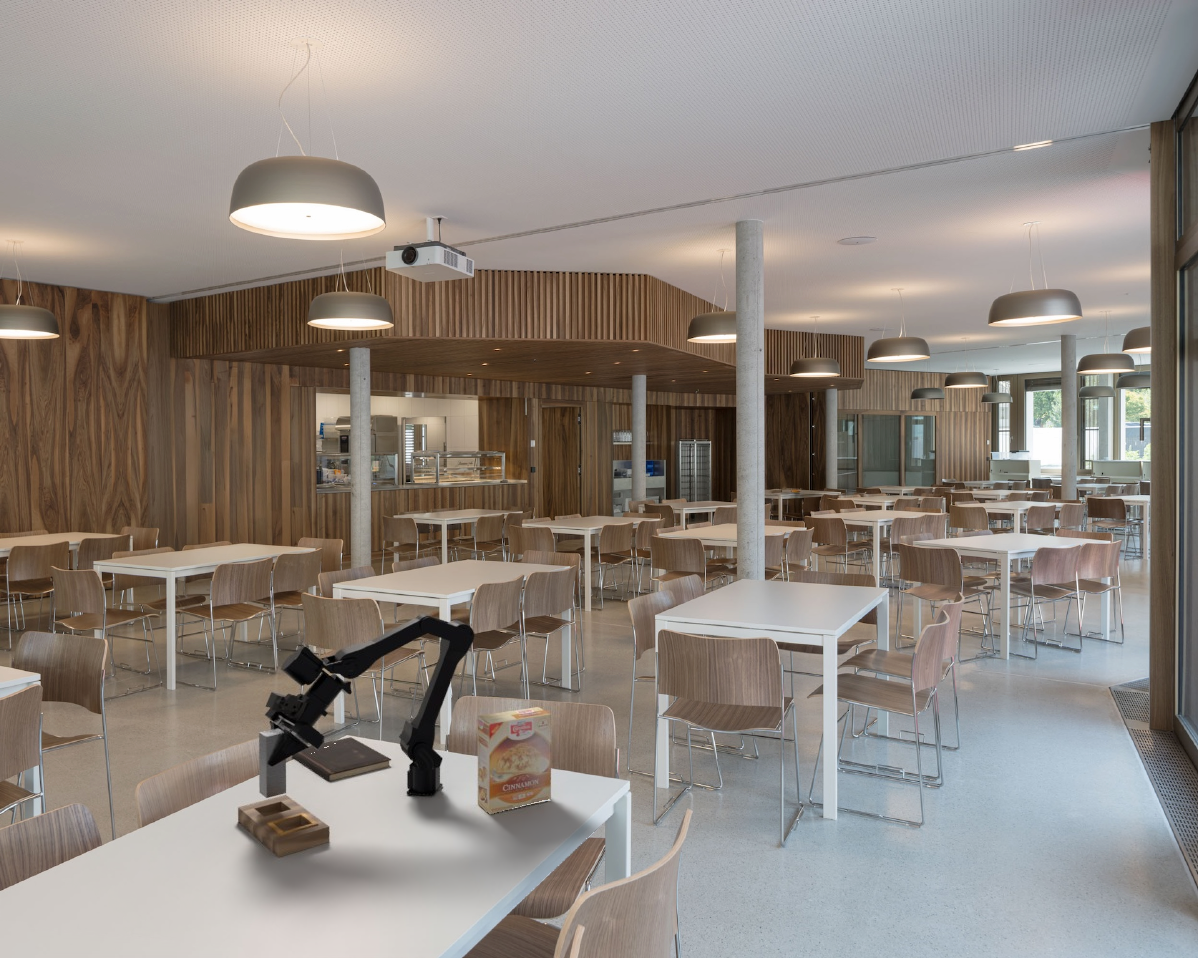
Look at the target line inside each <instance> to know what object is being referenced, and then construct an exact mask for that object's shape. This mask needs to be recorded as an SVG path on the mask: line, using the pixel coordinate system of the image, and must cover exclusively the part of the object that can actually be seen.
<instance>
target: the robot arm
mask: <svg viewBox="0 0 1198 958" xmlns="http://www.w3.org/2000/svg"><path fill="white" fill-rule="evenodd" d="M426 634H427V635H428V634H429V635H431V636H435V637H437V638H440V640H439V641H440V642H439V655H438V659H437V662H436V665H435V667H434V670H433V672H432V675H431V678H430V680H429V683H428V685H427V688H426V691H425V694H424V696H423V698H422V702H421V704H420V706H419V709H418V711H417V715H416V716H415V717H414V718H413V720H412V721H408V720H405V722H404V724H403V730H402V732H401V733H400V734H399V735H398V738H399V739H400V742H399V746H400V748H401V751H402V752H403V753H404V754H405V755H406V756H407V757H408V759H409V760H410V761H411V763H409V766H408V767H409V769H408V770H407V771H406V772H407V773H406V776H407V778H406V779H407V780H406V788H407V791H406V794H407V795H409V796H413V795H414V796H426V797H427V796H428V797H429V796H430V797H433V796H436V795H437V793H438V792H439V790H440V789H441V788H442V787H443V785H444V784H443V783H442V782H441V765H442V762H443V757H442V756H441V755H440V754H439V752H437V751H436V750H435V749H434V743H435V739H436V724H437V723H436V722H437V720H438V717H439V715H440V711H441V709H442V706H443V703H444V701H445V698H446V696H447V693H448V691H449V688H450V685H451V683H452V680H453V678H454V674H455V672H456V670H457V666H458V664H459V663H460V662H461V661H462V659H463V658H464V657H465V656H466V655H467V653H469V650H470V648H471V646H472V645H473V643H474V642H475V637H476V636H475V632H474V630H473V628H472V627H471V626H470V625H468V624H466V623H464V622H462V621H461V620H456V619H455V620H450V621H446V620H444V619H440V618H437V617H435V616H433V617H432V616H431V615H428V614H427V613H421V614H418V615H417V616H416V617H414V618H413V619H410V620H409V621H407V622H405V623H402V624H401V625H399V626H397V627H395V628H392V629H391V630H389V631H387V632H385V633H383V634H381V635H379V636H378V637H376V638H373V639H372V640H370V641H366V642H360V643H355V644H353V645H350V646H347V647H344V648H341V649H339V650H338V651H336V653H335V654H332V655H328V656H324V657H320V658H319V656H317V655H316V654H315V653H314V652H312V651H311V649H310V648H309V647H308V646H307V645H306V644H303V645H302V646H301V647H300V648H298V649H297V650H295V651H294V652H292V654H289V656H287V658H286V659H285V660H284V661H283V663H282V665H281V667H280V670H281V672H283V673H284V674H285V675H287V676H288V677H289V678H290V679H292V680H293V681H294V682H295V683H297V684H298V685H299V686H301V687H302V686H305V685H306V686H309V688H308V689H307V690H306V691H305V693H304V694H303V693H301V692H300V693H298V694H297V695H296V694H291V693H287V694H286V695H285V694H282V693H278V692H276V691H275V692H274V691H271V692H270V695H269V697H268V699H267V701H266V705H265V707H266V708H269V709H268V710H267V711H266V713H265V714H264V716H265V717H266V718H267V719H269V726H270V730H273V729H278V728H279V729H280V730H282V731H284V739H283V741H282V742H281V744H280V745H279V747H278V748H277V750H276V751H275V753H274V754H273V756H272V757H271V759H270V761H269V762H268V764H269V765H270V766H271V767H272V766H274V765H276V764H278V763H280V762H281V761H283V760H285V759H286V760H287V759H289V758H290V757H291V758H292V755H294V754H296V753H298V752H300V751H302V750H304V749H308V748H309V747H308V746H309V745H308V744H310V746H312V747H313V748H315V749H317V750H319V749H320V747H321V746H322V745H323V744H324V743H325V736H324V735H323V734H322V733H321V732H319V731H318V729H315V727H314V726H315V724H316V723H317V722H318V721H319V719H320V718H321V717H323V718H325V717H326V716H327V715H328V714H329V712H328V711H327V710H328V708H329V707H330V705H332V703H333V701H334V700H335V699H336V698H337V697H338V696H339V694H340V693H341V692H342V693H343V694H347V695H352V694H353V692H352V682H351V681H350V680H354V679H357V678H359V677H360V676H361V675H362V674H363V673H365V672H366V671H368V670H369V669H370V668H371V667H372V666H373V665H374V664H375V663H376V662H377V661H379V660H380V659H381V658H382V657H385V656H386V655H388V654H390V653H392V652H394V651H396V650H398V649H400V648H402V647H404V646H405V645H408V644H410V643H411V642H414V641H415V640H417V639H420V638H421V637H422V636H424V635H425V636H426ZM325 670H326V671H327V672H326V671H325ZM328 673H329V674H331V675H329V674H328ZM338 675H340V676H341V677H343V678H344V679H348V680H345V681H344V680H343V679H342V678H341V677H339V676H338ZM310 685H311V686H310Z"/></svg>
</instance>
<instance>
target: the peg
mask: <svg viewBox="0 0 1198 958" xmlns="http://www.w3.org/2000/svg"><path fill="white" fill-rule="evenodd" d="M283 739H284V731H282V730H280V729H279V728H278V729H273V730H271V729H270V730H269V729H268V730H265V731H264V730H263V731H260V732H259V731H258V762H259V763H258V769H259V771H258V773H259V775H258V777H259V778H258V779H259V780H258V781H259V784H258V785H259V786H258V787H259V790H258V792H259V793H260V794H261V795H262V796H263V797H264V798H265V799H270V798H274V797H278V796H282V795H286V794H287V759H285V760H283V761H281V762H280V763H278V764H276V765H274V766H272V767H271V766H270V765H269V764H268V762H269V761H270V759H271V757H272V756H273V754H274V753H275V751H276V750H277V748H278V747H279V745H280V744H281V742H282V741H283Z"/></svg>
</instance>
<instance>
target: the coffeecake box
mask: <svg viewBox="0 0 1198 958" xmlns="http://www.w3.org/2000/svg"><path fill="white" fill-rule="evenodd" d="M548 799H551V800H552V713H550V712H549V711H547V710H545V709H543V708H541V707H540V706H535V707H529V708H522V709H515V710H508V711H502V712H496V713H489V714H483V715H477V805H479V806H480V807H481V808H482V809H483V810H484V811H485V810H486V811H485V812H486V813H487V812H488V813H489V814H490V815H494V813H495V814H498V813H497V812H499V813H502V811H503V810H508V809H512V808H515V807H520V806H522V805H527V804H531V803H534V802H539V801H542V800H548ZM512 810H513V809H512ZM508 811H509V810H508ZM503 812H504V811H503ZM488 813H487V814H488ZM489 814H488V815H489Z"/></svg>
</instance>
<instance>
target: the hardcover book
mask: <svg viewBox="0 0 1198 958" xmlns="http://www.w3.org/2000/svg"><path fill="white" fill-rule="evenodd" d="M334 743H336V744H334ZM307 746H308V747H309V748H308V749H304V750H302V751H300V752H298V753H296V754H294V755H292V756H291V758H293V759H295V760H297V761H298V762H300V763H301V764H302V765H304V766H305V765H306V767H307V766H308V767H309V769H310V770H311V769H312V770H311V771H313V772H314V773H316V774H317V773H318V774H317V775H319V776H320V775H321V776H320V777H322V778H323V777H324V778H323V779H324V780H326V779H327V780H326V781H328V782H330V780H331V781H334V780H339V779H342V778H347V777H349V776H350V777H351V776H354V775H358V774H362V773H363V774H364V773H366V772H370V771H374V770H378V769H379V770H380V769H383V768H387V767H389V766H390V761H391V762H392V759H391V758H390V757H388V756H386V755H385V754H382V753H381V752H379V751H377V750H376V749H373V748H372V747H370V746H368V745H367V744H364V743H363V742H361V741H359V740H357V739H356V738H353V737H352V736H349V737H345V738H341V739H337V740H330V741H326V742H324V744H323V745H322V746H321V747H320V749H319V750H317V749H315V748H313V747H312V746H311V745H307ZM327 746H329V747H327ZM324 747H327V748H324ZM314 752H315V753H314ZM311 753H312V754H311ZM308 767H307V768H308Z"/></svg>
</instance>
